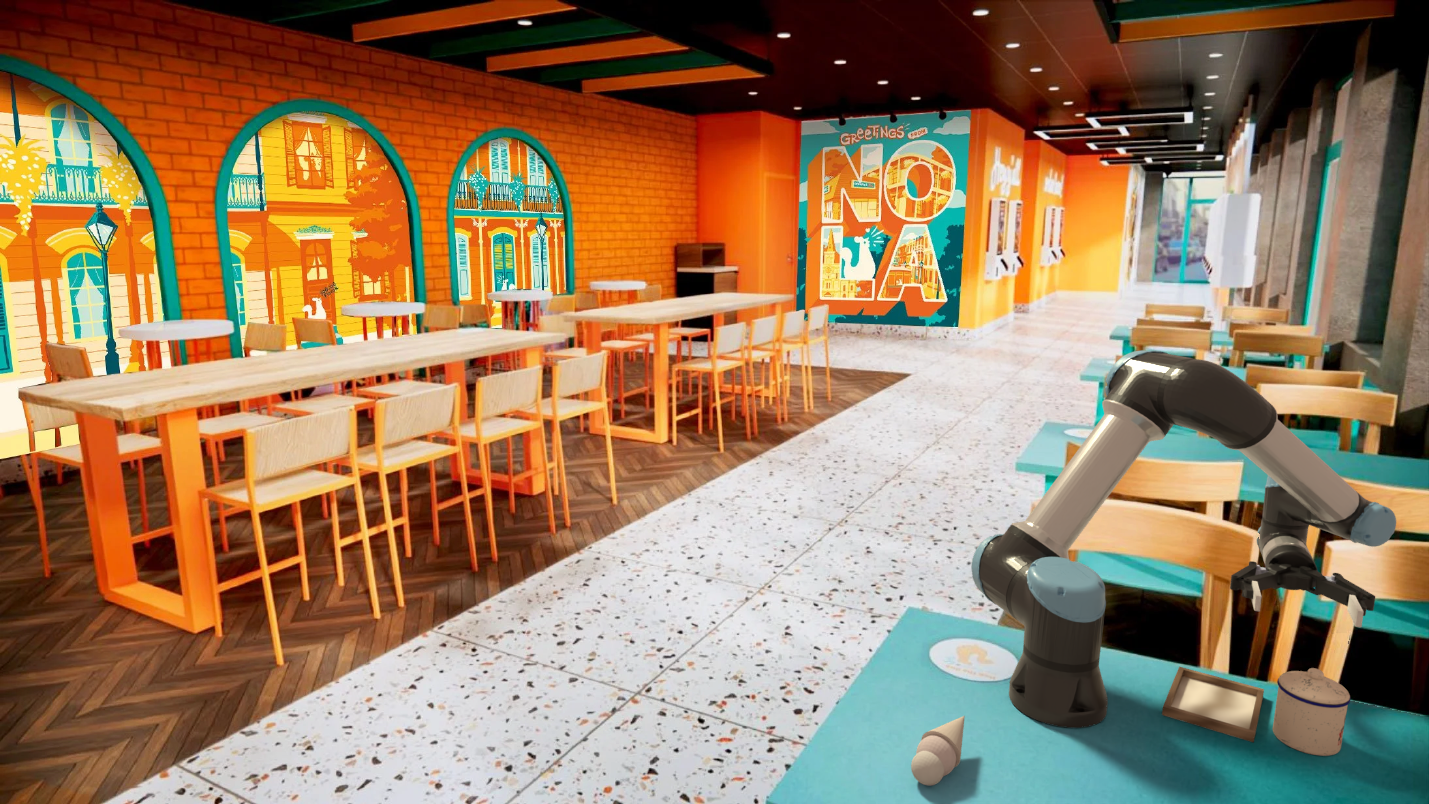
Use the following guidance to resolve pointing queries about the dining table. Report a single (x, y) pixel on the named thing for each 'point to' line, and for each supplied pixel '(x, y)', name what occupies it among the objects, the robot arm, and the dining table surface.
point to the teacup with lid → (1310, 712)
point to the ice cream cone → (938, 752)
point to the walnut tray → (1214, 703)
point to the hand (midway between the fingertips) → (1307, 611)
